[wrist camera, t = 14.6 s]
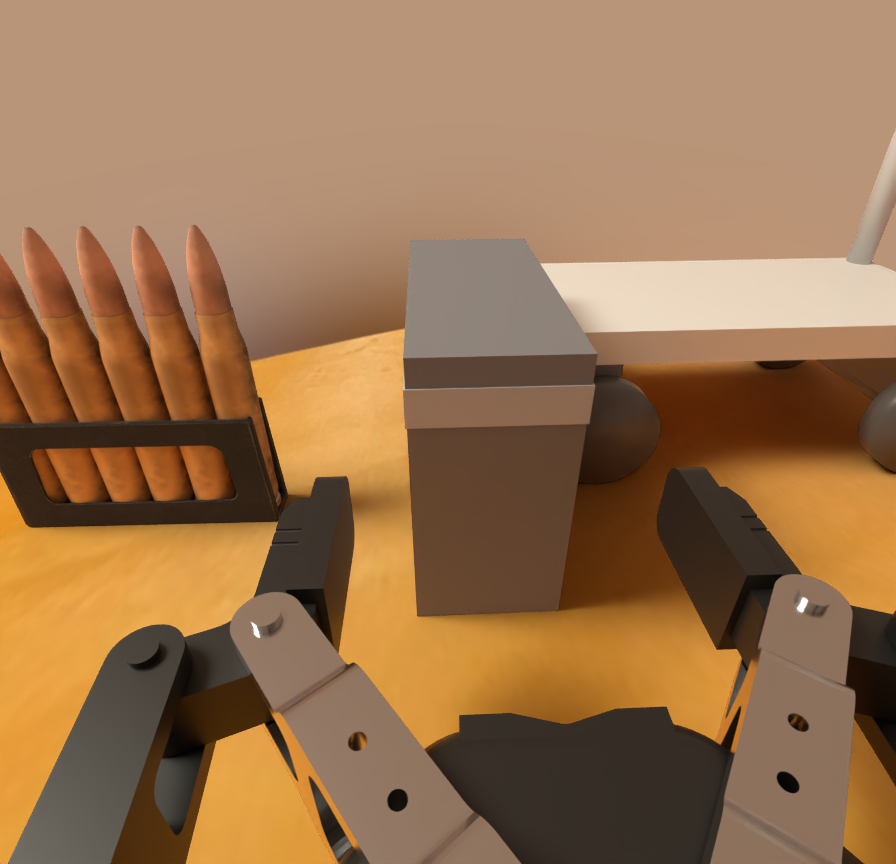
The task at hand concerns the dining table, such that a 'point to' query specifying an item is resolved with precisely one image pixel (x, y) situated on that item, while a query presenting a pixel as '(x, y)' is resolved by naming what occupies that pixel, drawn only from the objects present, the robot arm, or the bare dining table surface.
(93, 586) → the dining table surface
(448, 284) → the grey lidded box
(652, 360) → the trolley
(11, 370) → the ammunition clip
